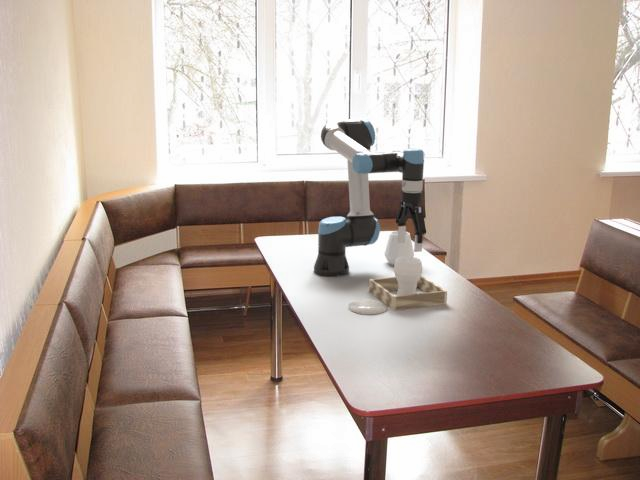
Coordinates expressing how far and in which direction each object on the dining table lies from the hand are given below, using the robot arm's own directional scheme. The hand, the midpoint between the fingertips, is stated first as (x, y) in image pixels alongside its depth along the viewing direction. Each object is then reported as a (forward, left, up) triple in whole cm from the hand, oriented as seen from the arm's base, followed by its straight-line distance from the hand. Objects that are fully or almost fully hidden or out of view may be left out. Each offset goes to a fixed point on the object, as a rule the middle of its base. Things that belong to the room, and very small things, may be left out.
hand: (409, 247), depth 250 cm
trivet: (+6, -19, -20) cm, 28 cm away
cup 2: (0, 0, -20) cm, 20 cm away
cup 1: (-44, +18, -20) cm, 52 cm away
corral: (0, 0, -20) cm, 20 cm away
